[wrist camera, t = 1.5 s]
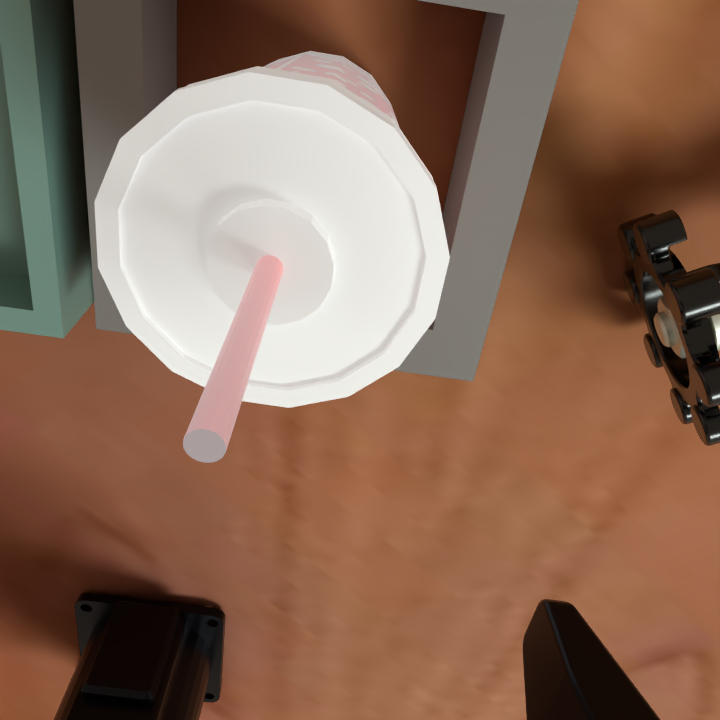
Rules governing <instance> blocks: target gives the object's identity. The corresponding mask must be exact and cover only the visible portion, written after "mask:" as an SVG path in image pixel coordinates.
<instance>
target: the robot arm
mask: <svg viewBox="0 0 720 720" xmlns="http://www.w3.org/2000/svg"><path fill="white" fill-rule="evenodd" d="M75 612H76V621H77V629H78V638H79V646H80V655H81V658H80V660H79V662H78V665H77V667H76V669H75V672H74V674H73V676H72V678H71V681H70V683H69V685H68V688H67V690H66V692H65V695H64V697H63V699H62V702H61V704H60V706H59V709H58V711H57V713H56V715H55V718H54V720H199V717H200V713H201V709H202V705H203V702H216V701H217V700H219V697H220V692H221V683H222V667H223V650H224V633H225V614H224V613H223V611H221V610H219V609H215V608H208V607H200V606H192V605H184V604H175V603H167V602H159V601H151V600H142V599H134V598H126V597H118V596H110V595H101V594H93V593H83V594H81V595H80V596H79V597H78V599H77V602H76V604H75ZM523 664H524V680H525V697H526V714H527V720H660V719H659V717H658V716H657V715H656V713H655V712H654V711H653V709H652V708H651V707H650V705H649V704H648V703H647V701H646V700H645V699H644V697H643V696H642V695H641V694H640V692H639V691H638V690H637V688H636V687H635V686H634V684H633V683H632V682H631V680H630V679H629V678H628V676H627V675H626V674H625V672H624V671H623V670H622V668H621V667H620V666H619V665H618V663H617V662H616V661H615V659H614V658H613V657H612V655H611V654H610V653H609V651H608V650H607V649H606V647H605V646H604V645H603V643H602V642H601V641H600V639H599V638H598V637H597V636H596V634H595V633H594V632H593V630H592V629H591V628H590V626H589V625H588V624H587V622H586V621H585V620H584V618H583V617H582V616H581V614H580V613H579V612H578V610H577V609H576V608H575V607H574V606H573V605H572V604H570V603H568V602H565V601H557V600H550V599H544V600H542V601H541V602H540V603H539V604H538V606H537V608H536V610H535V613H534V615H533V617H532V619H531V621H530V624H529V626H528V628H527V630H526V633H525V636H524V640H523Z"/></svg>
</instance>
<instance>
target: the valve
mask: <svg viewBox="0 0 720 720" xmlns="http://www.w3.org/2000/svg"><path fill="white" fill-rule="evenodd" d="M618 236H619V240H620V243H621V246H622V249H623V251H624V254H625V255H626V257H627V259H628V260H630V261H632V264H633V267H634V268H632V269H629V270H626V271H625V272H624V274H623V278H624V283H625V286H626V289H627V292H628V295H629V297H630V299H631V301H632V302H633V303H634V304H635V305H639V306H640V308H641V310H642V312H643V315H644V318H645V321H646V324H647V327H648V331H649V333H647V334H645V335H644V344H645V348H646V351H647V354H648V356H649V358H650V360H651V362H652V364H653V365H654V366H655V367H656V368H659V367H664V369H665V371H666V373H667V375H668V377H669V379H670V382H671V384H672V389H671V390H670V397H671V401H672V404H673V407H674V409H675V412H676V414H677V416H678V418H679V419H680V421H681V422H682V423H683V424H689V423H694V426H695V428H696V431H697V433H698V435H699V437H700V439H701V440H702V442H703V443H704V444H705V445H708V446H710V445H714V444H717V443H720V409H719V406H718V405H720V358H719V354H718V351H720V263H717V264H712V265H708V266H705V267H701V268H698V269H695V270H692V271H689V272H686V270H685V269H684V267H683V265H682V264H681V263H680V261H679V260H678V258H677V257H676V256H675V254H674V253H673V252H672V251H671V250H670V248H669V246H671V245H674V244H677V243H680V242H682V241H685V240H687V235H686V231H685V228H684V225H683V223H682V221H681V219H680V217H679V215H678V214H677V213H676V212H675V211H673V210H670V211H667V212H664V213H661V214H659V215H655V214H654V213H650V214H647V215H644V216H642V217H639V218H636V219H633V220H630V221H628V222H625V223H622V224H620V225H619V226H618Z"/></svg>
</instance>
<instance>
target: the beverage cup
mask: <svg viewBox="0 0 720 720" xmlns="http://www.w3.org/2000/svg"><path fill="white" fill-rule="evenodd" d="M94 205H95V223H96V241H97V258H98V269H99V271H100V273H101V275H102V277H103V279H104V281H105V283H106V285H107V287H108V290H109V292H110V294H111V296H112V298H113V300H114V302H115V304H116V306H117V308H118V310H119V312H120V315H121V317H122V319H123V321H124V323H125V325H126V327H127V328H128V329H129V330H130V331H131V332H132V333H133V334H134V335H135V336H136V337H138V338H139V339H140V340H141V341H142V342H143V343H144V344H145V345H146V346H147V347H148V348H149V349H150V350H151V351H152V352H153V353H154V354H155V355H156V356H157V357H158V358H159V359H160V360H161V361H162V362H163V363H164V364H165V365H166V366H167V367H168V368H169V369H170V370H171V371H172V372H174V373H176V374H178V375H181V376H183V377H185V378H187V379H189V380H191V381H193V382H195V383H197V384H199V385H201V386H203V387H205V389H204V391H203V393H202V396H201V398H200V401H199V403H198V406H197V408H196V410H195V413H194V415H193V418H192V420H191V422H190V425H189V427H188V430H187V432H186V435H185V437H184V439H183V447H184V449H185V451H186V453H187V454H188V455H189V456H190V457H191V458H193V459H195V460H197V461H199V462H205V463H210V462H216V461H218V460H219V459H221V458H222V457H223V456H224V454H225V453H226V450H227V446H228V443H229V440H230V437H231V434H232V431H233V428H234V425H235V421H236V418H237V415H238V412H239V409H240V406H241V403H242V401H246V402H253V403H260V404H267V405H274V406H281V407H288V408H290V407H296V406H301V405H306V404H312V403H317V402H323V401H328V400H333V399H339V398H344V397H349V396H350V395H352V394H354V393H355V392H357V391H359V390H360V389H362V388H364V387H365V386H367V385H369V384H371V383H372V382H374V381H376V380H377V379H379V378H381V377H382V376H384V375H386V374H387V373H389V372H391V371H392V370H394V369H396V368H398V367H399V366H400V365H401V363H402V362H403V361H404V359H405V358H406V357H407V355H408V354H409V353H410V352H411V350H412V349H413V348H414V346H415V345H416V344H417V342H418V341H419V340H420V338H421V337H422V336H423V334H424V333H425V332H426V330H427V329H428V328H429V326H430V325H431V324H432V323H433V321H434V320H435V318H436V314H437V310H438V305H439V301H440V297H441V293H442V289H443V285H444V280H445V276H446V272H447V268H448V264H449V259H450V255H449V250H448V245H447V239H446V234H445V229H444V223H443V218H442V213H441V208H440V202H439V197H438V192H437V187H436V184H435V183H434V181H433V177H432V175H431V174H430V172H429V171H428V169H427V168H426V166H425V165H424V163H423V162H422V161H421V159H420V158H419V156H418V155H417V153H416V152H415V150H414V149H413V147H412V146H411V144H410V143H409V141H408V140H407V138H406V137H405V135H404V134H403V133H402V131H401V130H400V128H399V125H398V122H397V119H396V117H395V114H394V111H393V108H392V106H391V103H390V102H389V100H388V99H387V97H386V96H385V94H384V93H383V91H382V90H381V88H380V87H379V85H378V84H377V82H376V81H375V79H374V78H373V76H372V75H371V74H369V73H368V72H366V71H365V70H363V69H362V68H360V67H359V66H357V65H356V64H354V63H352V62H351V61H349V60H348V59H346V58H345V57H343V56H338V55H332V54H326V53H320V52H314V51H308V52H304V53H300V54H297V55H293V56H289V57H285V58H282V59H278V60H276V61H274V62H272V63H270V64H268V65H266V66H264V67H260V66H256V67H252V68H248V69H245V70H241V71H237V72H233V73H230V74H226V75H222V76H219V77H215V78H211V79H207V80H204V81H200V82H196V83H192V84H189V85H187V86H186V87H182V88H179V89H177V90H176V91H174V92H173V93H172V94H171V95H170V96H168V97H167V98H166V99H165V100H164V101H163V102H162V103H160V104H159V105H158V106H157V107H156V108H155V109H154V110H152V111H151V112H150V113H149V114H148V115H147V116H146V117H144V118H143V119H142V120H141V121H140V122H139V123H138V124H136V125H135V126H134V127H133V128H132V129H131V130H130V131H128V132H127V133H126V134H125V135H124V136H123V137H122V138H120V140H119V142H118V145H117V147H116V150H115V152H114V155H113V157H112V160H111V162H110V164H109V167H108V169H107V172H106V174H105V177H104V179H103V182H102V184H101V187H100V189H99V192H98V194H97V197H96V199H95V202H94Z"/></svg>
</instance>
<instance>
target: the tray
mask: <svg viewBox="0 0 720 720" xmlns="http://www.w3.org/2000/svg"><path fill="white" fill-rule="evenodd" d="M93 302H94V289H93V275H92V260H91V246H90V232H89V217H88V203H87V189H86V174H85V160H84V146H83V131H82V117H81V103H80V88H79V74H78V60H77V45H76V31H75V17H74V2H73V0H0V330H7V331H14V332H22V333H29V334H36V335H43V336H50V337H58V338H64V337H65V336H66V335H67V334H68V332H69V331H70V330H71V329H72V328H73V326H74V325H75V324H76V323H77V322H78V320H79V319H80V318H81V317H82V316H83V314H84V313H85V312H86V311H87V310H88V308H89V307H90V306H91V305H92V303H93Z"/></svg>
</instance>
